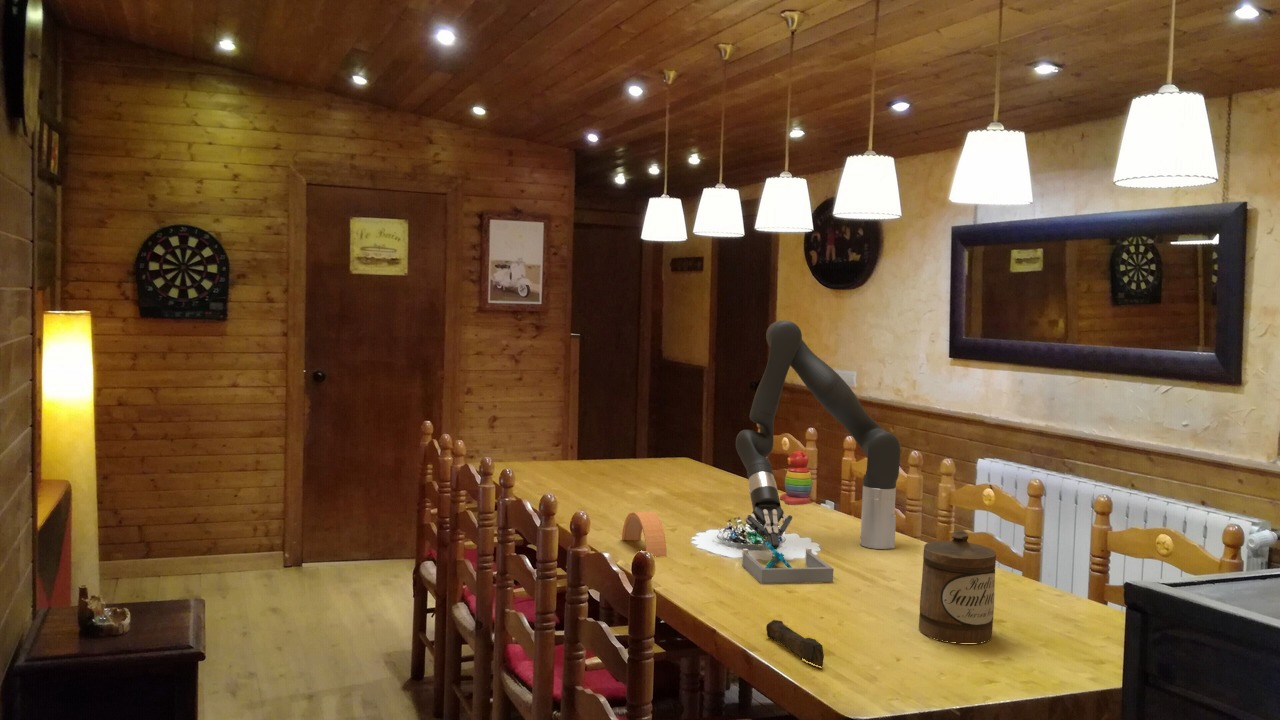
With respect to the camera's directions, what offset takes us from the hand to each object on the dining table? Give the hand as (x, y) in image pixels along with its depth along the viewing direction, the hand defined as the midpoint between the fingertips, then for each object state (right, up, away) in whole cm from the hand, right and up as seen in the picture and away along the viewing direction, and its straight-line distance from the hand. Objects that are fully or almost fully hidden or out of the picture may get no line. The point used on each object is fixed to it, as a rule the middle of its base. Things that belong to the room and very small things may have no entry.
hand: (774, 548), depth 261 cm
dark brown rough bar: (-4, -9, -64) cm, 65 cm away
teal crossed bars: (0, -5, -5) cm, 7 cm away
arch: (-34, -3, +14) cm, 37 cm away
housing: (+2, -5, -7) cm, 9 cm away
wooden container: (+31, -9, -50) cm, 59 cm away
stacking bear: (+19, 0, +86) cm, 88 cm away
